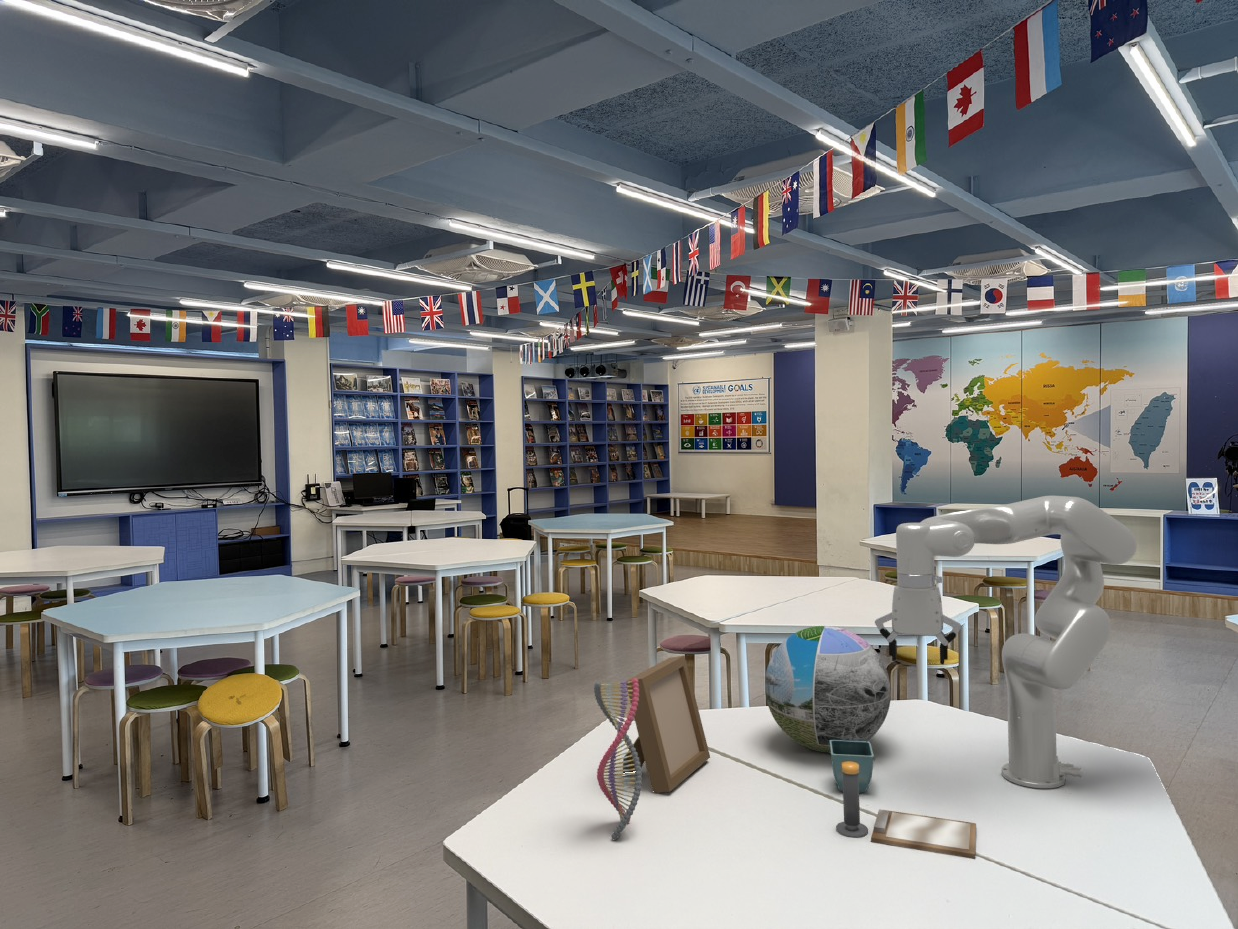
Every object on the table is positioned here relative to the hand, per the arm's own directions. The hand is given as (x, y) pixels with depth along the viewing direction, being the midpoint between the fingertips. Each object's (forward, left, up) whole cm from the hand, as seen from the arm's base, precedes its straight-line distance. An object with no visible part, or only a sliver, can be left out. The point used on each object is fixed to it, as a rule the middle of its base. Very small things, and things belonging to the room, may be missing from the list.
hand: (918, 661), depth 177 cm
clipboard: (-2, +20, -28) cm, 35 cm away
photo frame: (+56, +9, -28) cm, 63 cm away
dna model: (+53, +39, -28) cm, 72 cm away
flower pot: (+14, +3, -28) cm, 32 cm away
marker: (+11, +23, -28) cm, 38 cm away
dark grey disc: (+11, +23, -28) cm, 38 cm away
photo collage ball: (+23, -19, -28) cm, 41 cm away
